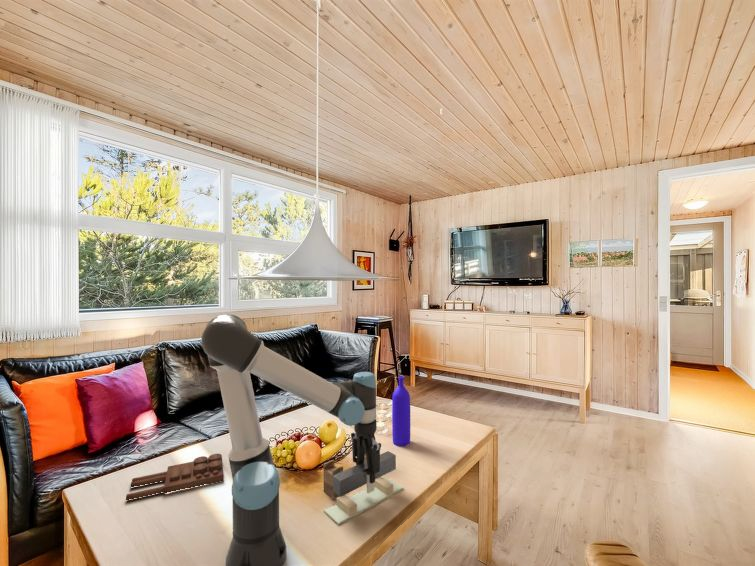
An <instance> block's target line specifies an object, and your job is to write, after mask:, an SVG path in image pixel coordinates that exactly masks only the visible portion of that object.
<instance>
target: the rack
mask: <svg viewBox="0 0 755 566" xmlns="http://www.w3.org/2000/svg"><path fill="white" fill-rule="evenodd" d="M365 461H367V459H366V452H365V456H364V462H365ZM342 471H344V466H343V465H341V466H338V467H337V466H335V460H334V459H331V460H329V461H327V462H324V463H323V492H324V493H325V494H326V495H328V496H329V497H330V498H331V499H332V500H335V499H336V498H337V497H339V496H338V495H337V494H336V493H335V492H333V475H336V474H338V473H340V472H342Z"/></svg>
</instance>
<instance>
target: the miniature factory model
mask: <svg viewBox="0 0 755 566" xmlns="http://www.w3.org/2000/svg"><path fill="white" fill-rule="evenodd" d="M224 475H225V473H224V463H223V456H222V454H221V453H212V454H211V455H208V457H207V456H198V457H196V458H195V459H194V460H193V461H189V462H185V463H184V462H183V463H178V464H174V465H170V466H167V470H166V471H162V472H158V473H151V474H147V475H142V476H138V477H134V478H131V482H130V488H131V487H134V486H140V485H145V484H150V483H155V482H160V481H165V482H164V485H162V486H158V487H153V488H149V489H144V490H139V491H135V492H130V493H128V494H126V495H125V496H126V497H125V501H126V500H129V499H134V498H139V497H143V496H148V495H152V494H156V493H161V492H164V493H167V492H171V491H176V490H180V489H185V488H191V487H195V486H200V485H204V484H210V485H212V484H211V483H214V484H217V483H216V482H219V483H221V482H220V481H223V482H224V481H225V479H224V477H225V476H224ZM164 493H163V494H164Z"/></svg>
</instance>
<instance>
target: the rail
mask: <svg viewBox="0 0 755 566" xmlns="http://www.w3.org/2000/svg"><path fill="white" fill-rule="evenodd" d="M396 457H397V455H396V454H394V453H392V452H391V451H388V450H387V451H385V452H382V453H380V471H379V472H378V473H376V474H375V479H377V478H379V477H383V476H385V475H387V474H389V473H391V472H393V471H395V470H397V466H396V465H397V463H396V462H397V458H396ZM367 472H368V466H367V461H365V462H363V463H360V464H358V465H356V464H355V465H354V466H352V467H349V468H347V469H345V470H343V471H342V472H340V473H338V474H336V475H333V492H335V493H336V494H337V495H338V496H340V497H341V496H343V495H348V494H349V493H351V492H353V491H355V490H357V489H359V488H361V487H363V486H365V485H367Z"/></svg>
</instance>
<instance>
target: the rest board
mask: <svg viewBox="0 0 755 566" xmlns="http://www.w3.org/2000/svg"><path fill="white" fill-rule="evenodd" d="M402 490H404V487H403V486H402V485H401V484H399V483H397V482H396V481H394V480H392V479H391V478H389V477H387V478H383V476H381V477H379V478H377V479H375V482H374V491H372V492H370V493H367V488H365V489H363V490H361V491H359V492H358V493H356V494H354V495H351V496H347V494H345V495H343V496H341V497H340V496H339V497H337V498H336V503H335V504H333V505H332V506H330V507H328V508H326V509H324V510H323V513H324V514H325V515H327V517H328V518H329V519H331V520H332V521H333V522H335V524H336V525H337V526H339V525H341V524H343V523H345V522H347V521H349V520H350V519H352V518H354V517H356V516H357V515H359V514H361V513H362V512H365V511H366V510H368V509H370V508H372V507H374V506H376V505H377V504H380V503H381V502H382V501H385V500H386V499H388V498H390V497H392V496H393V495H395V494H397V493H399V492H401V491H402Z"/></svg>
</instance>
